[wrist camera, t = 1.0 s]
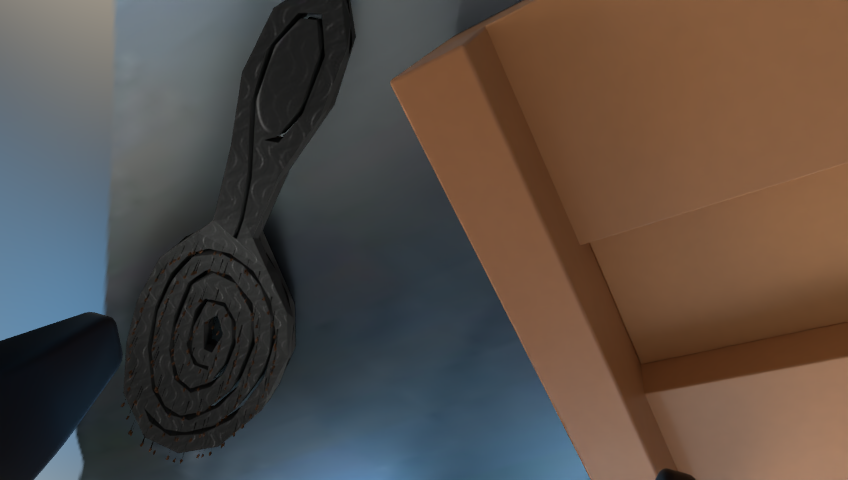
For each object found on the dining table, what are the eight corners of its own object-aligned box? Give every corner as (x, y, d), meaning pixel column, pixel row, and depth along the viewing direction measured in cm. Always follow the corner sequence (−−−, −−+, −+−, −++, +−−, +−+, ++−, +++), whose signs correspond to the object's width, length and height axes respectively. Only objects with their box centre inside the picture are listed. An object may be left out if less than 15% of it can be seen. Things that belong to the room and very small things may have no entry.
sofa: (904, 409, 22) (1038, 607, 15) (641, 448, 26) (658, 615, 19) (774, -131, 15) (910, -185, 9) (453, 35, 19) (387, 81, 13)
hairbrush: (421, 52, 17) (215, 496, 29) (445, 40, 20) (251, 444, 32) (185, -80, 17) (77, 418, 29) (247, -71, 20) (127, 374, 32)
